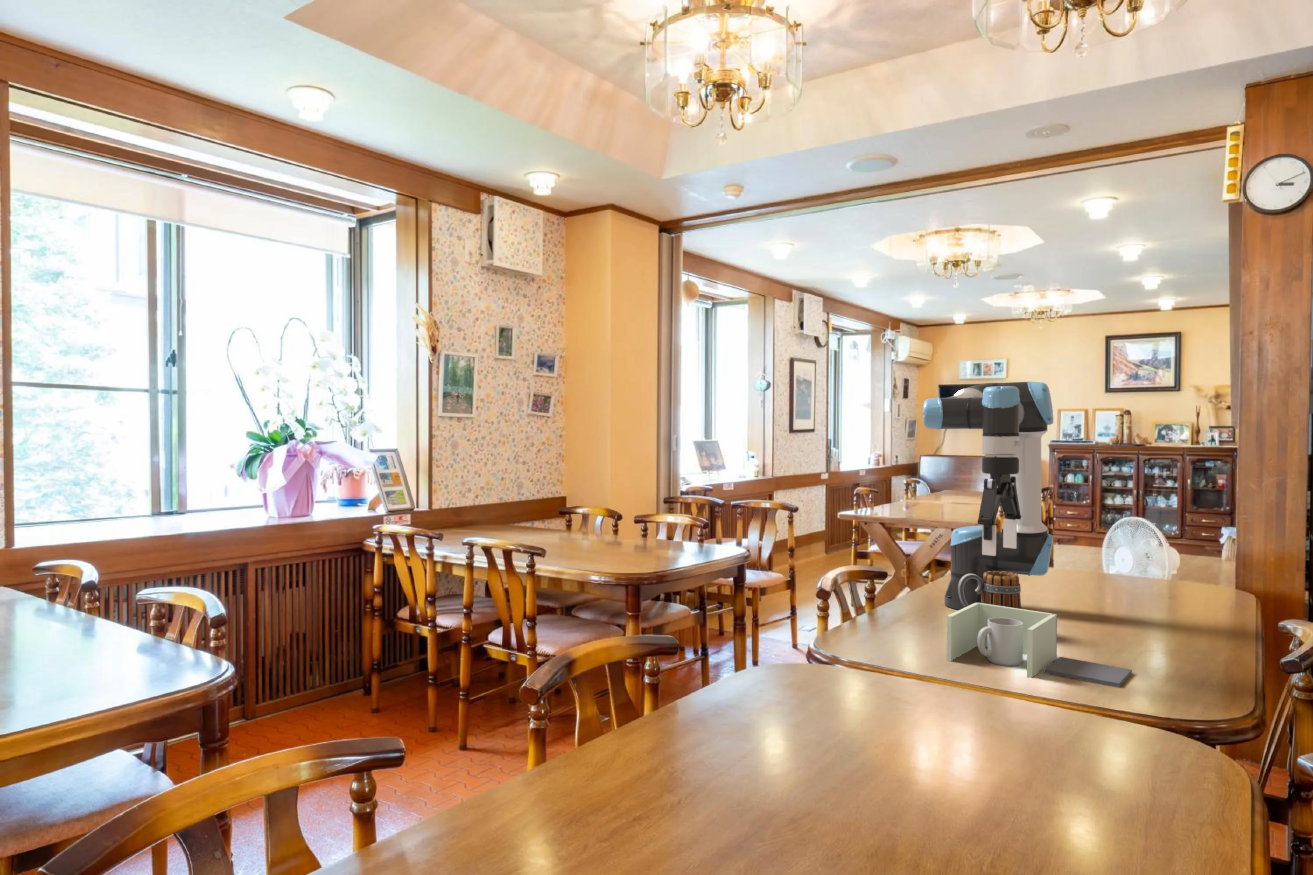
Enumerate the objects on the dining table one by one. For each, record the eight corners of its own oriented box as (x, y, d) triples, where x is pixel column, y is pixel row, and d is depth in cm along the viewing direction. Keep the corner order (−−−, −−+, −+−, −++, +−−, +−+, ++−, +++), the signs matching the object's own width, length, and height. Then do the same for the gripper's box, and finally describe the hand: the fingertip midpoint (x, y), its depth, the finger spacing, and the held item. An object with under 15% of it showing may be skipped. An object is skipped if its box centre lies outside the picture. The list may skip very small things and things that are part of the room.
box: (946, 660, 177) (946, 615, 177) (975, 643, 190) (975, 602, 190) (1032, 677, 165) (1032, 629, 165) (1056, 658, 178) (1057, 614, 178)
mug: (1014, 627, 205) (1015, 570, 205) (1029, 638, 195) (1030, 578, 195) (952, 626, 207) (953, 569, 207) (964, 637, 196) (964, 577, 196)
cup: (1029, 665, 173) (1029, 625, 173) (985, 666, 172) (985, 626, 172) (1011, 656, 180) (1012, 617, 180) (969, 657, 179) (969, 618, 179)
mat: (1044, 672, 168) (1044, 669, 168) (1060, 660, 177) (1060, 656, 177) (1119, 687, 159) (1119, 683, 159) (1131, 673, 168) (1131, 669, 168)
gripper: (998, 458, 164) (998, 560, 164) (1035, 454, 182) (1034, 546, 183) (962, 457, 169) (961, 556, 169) (1001, 454, 187) (1001, 543, 188)
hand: (999, 551), depth 176 cm, fingers open, 13 cm apart
